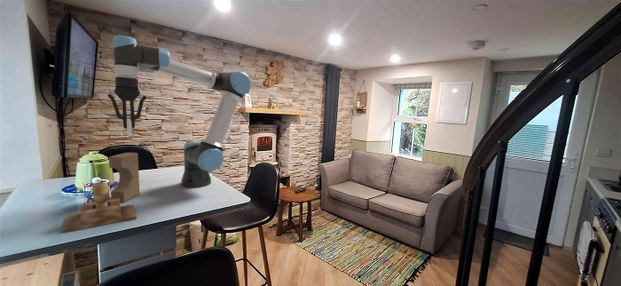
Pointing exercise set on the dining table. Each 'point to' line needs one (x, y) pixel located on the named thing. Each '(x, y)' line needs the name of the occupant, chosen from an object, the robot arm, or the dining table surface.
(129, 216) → the board
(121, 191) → the decorative block
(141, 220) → the dining table surface
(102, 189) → the peg
